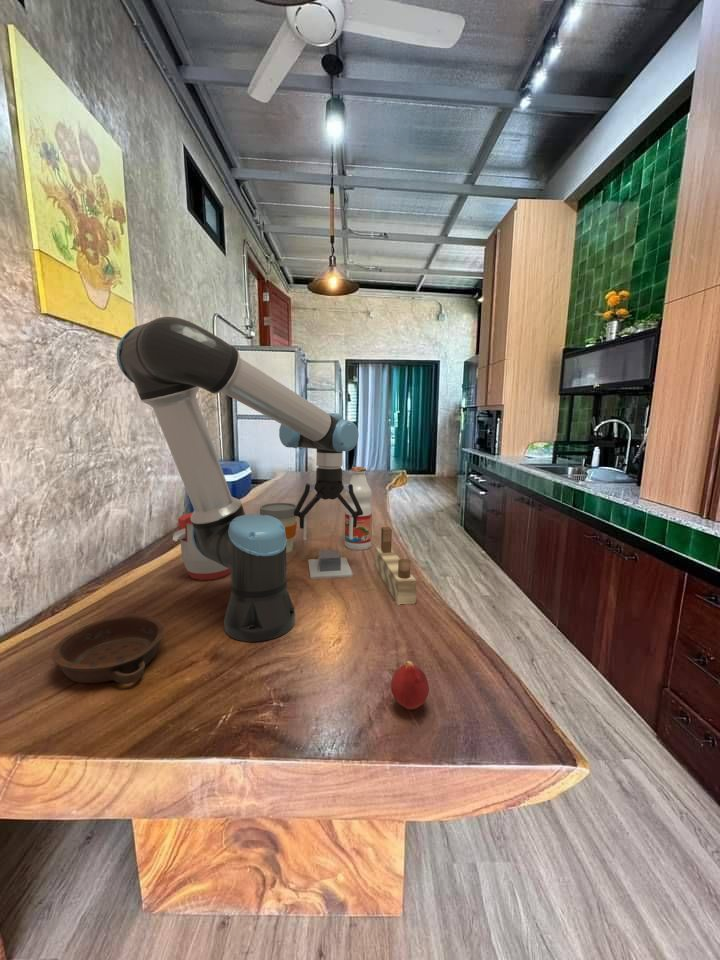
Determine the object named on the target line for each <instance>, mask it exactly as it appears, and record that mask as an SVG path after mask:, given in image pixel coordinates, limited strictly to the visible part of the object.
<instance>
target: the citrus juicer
mask: <svg viewBox="0 0 720 960" xmlns="http://www.w3.org/2000/svg"><path fill="white" fill-rule="evenodd" d="M193 512H194V511H191V512H188V513H184V514H182V515H181V516H179V517H178V518H177V523H178V524H177V525H178V531H176V532H174V533H173V536H172V541H174V542H178V541H180V550H181V558H182V560H183V565H184V567H185V570H186V572H187V574H188V575H189V577H190V578H192V579H195V580H200V581H202V580H204V581H208V580H216V579H219V578H220V579H221V578H223V577H226V576H227V575H230V574H231V570H230V569H228V568H227V567H225V566H223V565H221V564H219V563H217V562H215V561H213V560H210V559H208V558H206V557H205V556H204V555H202V554H201V553H200V552H199V551H198V550H197V548H196V547H195V545H194V543H193V540H192V529H193V525H192V522H191V519H190V517H191V515H192V513H193Z"/></svg>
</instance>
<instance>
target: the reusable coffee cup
mask: <svg viewBox="0 0 720 960" xmlns="http://www.w3.org/2000/svg"><path fill="white" fill-rule="evenodd" d="M296 506H297V504H295V503H290V502H289V503H288V502H274V503H273V502H272V503H266V504H263V505H261V506H260V507H259V514H261V515H268V516H272V517H274V518H277V519H278V520H280V521H281V522H282V523H283V525H284V527H285V532H286V539H287V543H286V554H288V553H289V552H292V551H293V549H294V540H295V536H296V535H297V534H296V533H297V525H298V521H297V516H294V510H295V508H296Z"/></svg>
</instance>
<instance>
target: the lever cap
mask: <svg viewBox="0 0 720 960" xmlns="http://www.w3.org/2000/svg"><path fill="white" fill-rule="evenodd" d="M317 555H318V558H317V559H318V563H319V568H320V572H322V571H340V570H341V558H342V557H341V554H340V552H339V549H325V550H324V549H323V550H320V549H319V550H318V554H317Z"/></svg>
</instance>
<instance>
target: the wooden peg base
mask: <svg viewBox="0 0 720 960" xmlns="http://www.w3.org/2000/svg"><path fill="white" fill-rule="evenodd" d="M380 530H381V532H380V535H381V536H380V546H375V554H374V555H375V561H374V562H375V564H374V565H375V569H376V570H377V571H378V572H377V573H379V575H380V577H381V578H382V580H383V582H384V584H385V586H386V585H387V586H386V588H387V589H388V591H389V593H390V592H391V593H390V594H391V596H392V598H393V600H394V601H395V603H396V604H397V606H401V605H400V604H405V605H415V603H417V600H416V599H417V583H418V582H417V581H418V580H417V579H416V578H415V576H414V575H413V574H412V573H411V560H410V559H407V558H400V557H399V556H398V555H397V553H396V552H395V551H394V549H393V548H392V541H393V540H392V537H393V535H392V534H393V533H392V531H393V529H392V528H391V527H390V526H382V527H381V528H380Z"/></svg>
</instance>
